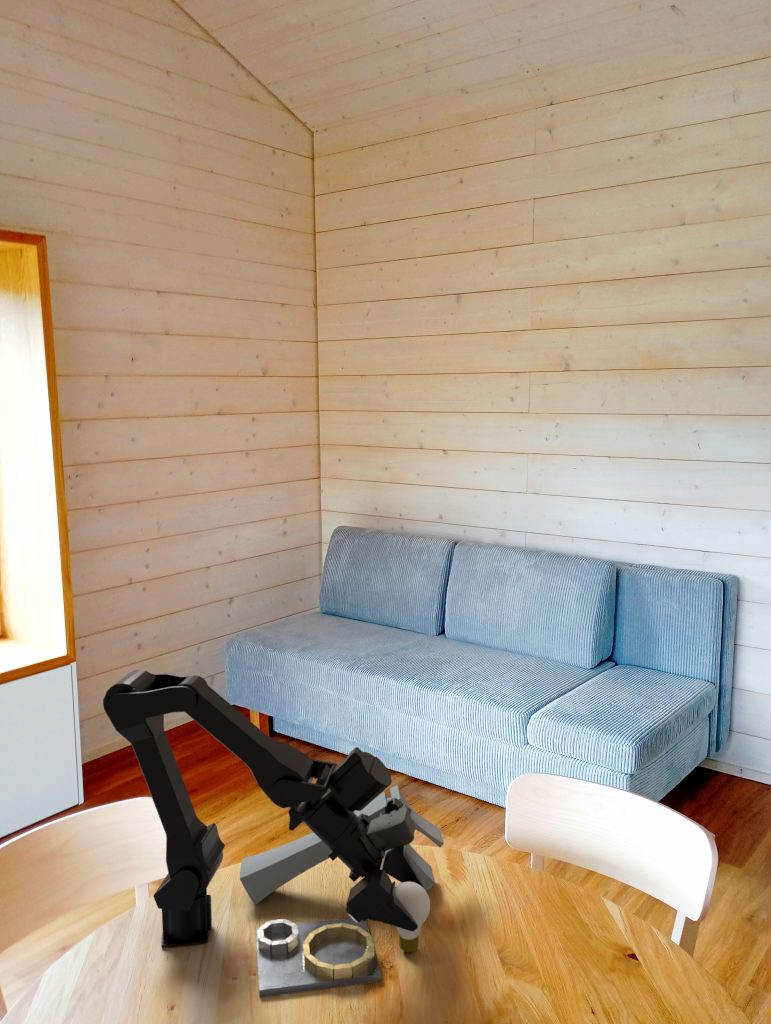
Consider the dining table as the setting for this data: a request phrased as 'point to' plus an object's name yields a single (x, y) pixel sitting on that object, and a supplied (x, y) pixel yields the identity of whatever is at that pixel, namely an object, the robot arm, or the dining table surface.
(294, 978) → the plate
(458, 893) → the dining table surface
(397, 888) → the light bulb
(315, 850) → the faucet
